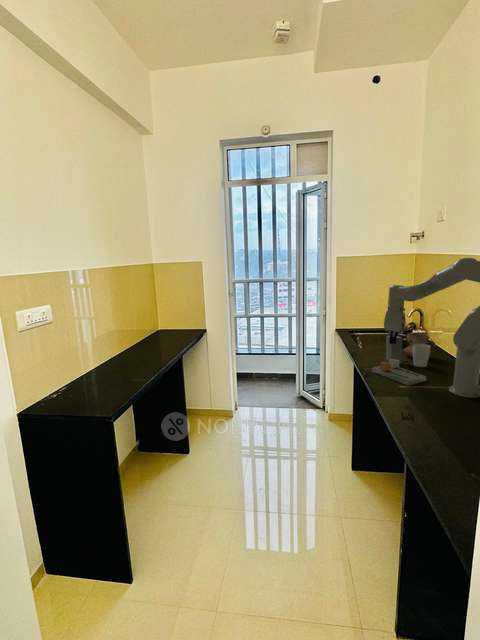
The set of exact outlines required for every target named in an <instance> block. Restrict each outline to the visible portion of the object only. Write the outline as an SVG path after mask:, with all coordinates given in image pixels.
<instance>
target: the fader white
mask: <svg viewBox="0 0 480 640" xmlns="http://www.w3.org/2000/svg"><path fill="white" fill-rule="evenodd" d="M389 363H391V367H392V368H396V367H400V364H399V360H397V359H391V360H389Z"/></svg>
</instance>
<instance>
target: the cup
mask: <svg viewBox="0 0 480 640" xmlns="http://www.w3.org/2000/svg"><path fill="white" fill-rule="evenodd" d="M430 350H431V345H429V344H413V357H412V359H413V360H412V361H413V366H415V367H418V368H426V367H427V365H428V362H429V358H430V355H431V354H430Z"/></svg>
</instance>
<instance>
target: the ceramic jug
mask: <svg viewBox="0 0 480 640" xmlns="http://www.w3.org/2000/svg"><path fill="white" fill-rule="evenodd" d="M402 341H404V342H405V341H406V342H408V343H409V346H407V347H405V349H402V352H403V353H404V354H405V355H406V356H407V357H410V358H413V344H427V345H429V343H430V344H432V345H431V347H430V355H431V354H432V352H433V351H434V349H435V347H436V343H435V341H434V340H431V339H430V335H429V334H427V333H419V332H410V333H407V338H406V337H405V338H402Z"/></svg>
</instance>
